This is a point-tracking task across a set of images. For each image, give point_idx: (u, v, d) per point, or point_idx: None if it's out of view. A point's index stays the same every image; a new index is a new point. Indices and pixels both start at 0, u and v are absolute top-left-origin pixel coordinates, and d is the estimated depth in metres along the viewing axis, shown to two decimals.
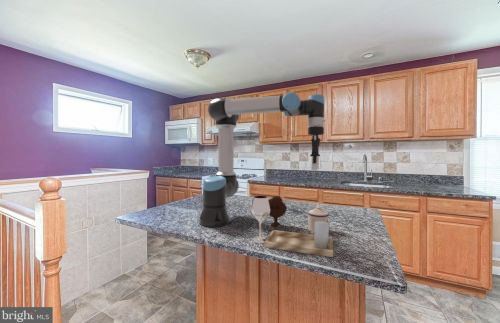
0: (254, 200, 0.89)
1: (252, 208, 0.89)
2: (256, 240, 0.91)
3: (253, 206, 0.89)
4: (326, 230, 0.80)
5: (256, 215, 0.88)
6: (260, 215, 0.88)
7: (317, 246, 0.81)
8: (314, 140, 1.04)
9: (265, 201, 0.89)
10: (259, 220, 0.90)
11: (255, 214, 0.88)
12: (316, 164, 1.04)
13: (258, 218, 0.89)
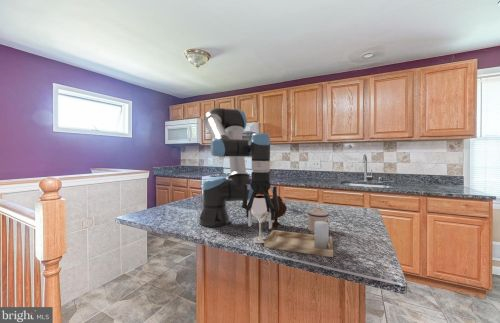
0: (254, 200, 0.89)
1: (252, 208, 0.89)
2: (256, 240, 0.91)
3: (253, 206, 0.89)
4: (326, 230, 0.80)
5: (256, 215, 0.88)
6: (260, 215, 0.88)
7: (317, 246, 0.81)
8: None
9: (265, 201, 0.89)
10: (259, 220, 0.90)
11: (255, 214, 0.88)
12: None
13: (258, 218, 0.89)
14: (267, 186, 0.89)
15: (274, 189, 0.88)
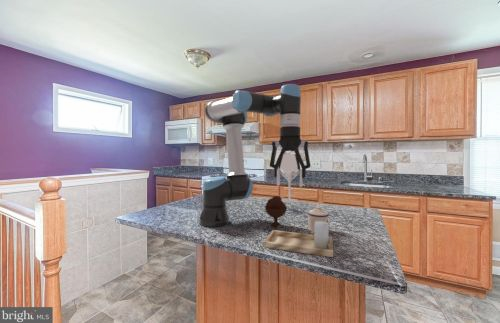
0: (283, 156, 0.83)
1: (281, 165, 0.83)
2: (285, 200, 0.85)
3: (282, 163, 0.83)
4: (326, 230, 0.80)
5: (286, 172, 0.82)
6: (290, 171, 0.82)
7: (317, 246, 0.81)
8: None
9: (295, 157, 0.83)
10: (289, 178, 0.84)
11: (285, 171, 0.82)
12: None
13: (288, 175, 0.83)
14: (298, 141, 0.83)
15: (306, 144, 0.82)
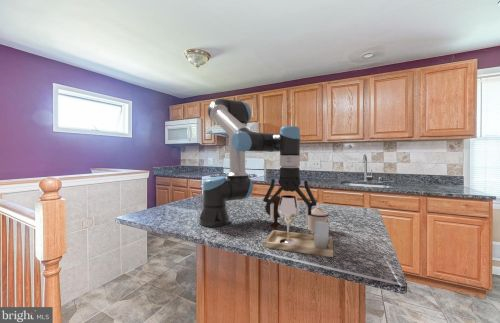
0: (282, 200, 0.84)
1: (280, 208, 0.84)
2: (284, 242, 0.86)
3: (281, 206, 0.84)
4: (326, 230, 0.80)
5: (285, 216, 0.83)
6: (289, 216, 0.82)
7: (317, 246, 0.81)
8: None
9: (294, 201, 0.83)
10: (287, 221, 0.85)
11: (284, 215, 0.83)
12: None
13: (287, 219, 0.83)
14: (297, 182, 0.84)
15: (305, 183, 0.83)
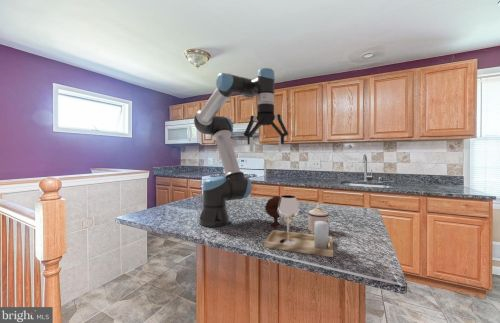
0: (282, 200, 0.84)
1: (280, 208, 0.84)
2: (284, 242, 0.86)
3: (281, 206, 0.84)
4: (326, 230, 0.80)
5: (285, 216, 0.83)
6: (289, 215, 0.82)
7: (317, 246, 0.81)
8: None
9: (294, 201, 0.84)
10: (287, 221, 0.85)
11: (284, 215, 0.83)
12: None
13: (287, 219, 0.83)
14: (272, 116, 0.99)
15: (278, 116, 0.98)
